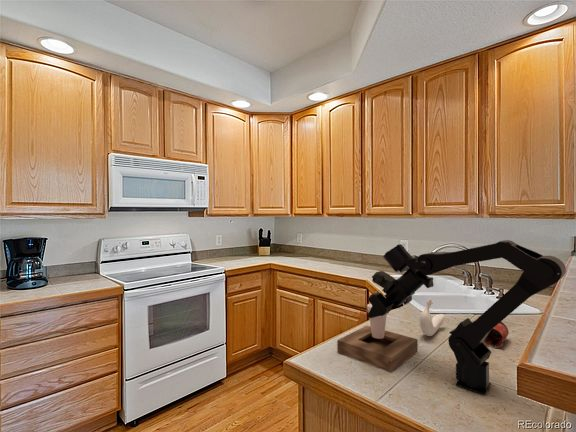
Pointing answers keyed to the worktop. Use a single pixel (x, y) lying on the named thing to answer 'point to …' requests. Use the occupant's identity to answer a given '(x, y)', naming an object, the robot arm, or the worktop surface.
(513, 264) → the robot arm
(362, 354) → the walnut box
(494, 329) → the beverage can
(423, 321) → the white curved piece
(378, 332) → the smoothie
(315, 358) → the worktop surface
